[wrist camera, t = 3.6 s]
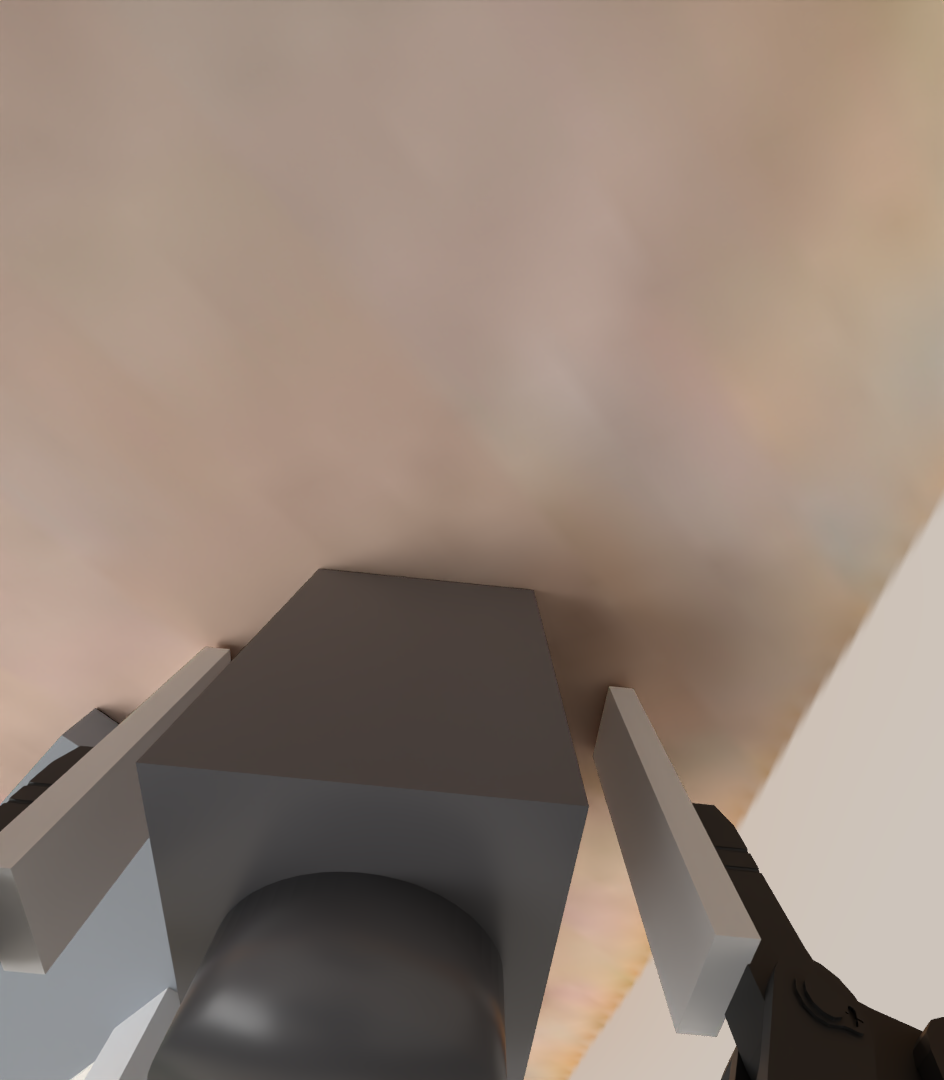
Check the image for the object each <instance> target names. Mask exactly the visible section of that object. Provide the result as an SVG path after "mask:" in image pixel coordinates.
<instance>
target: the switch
mask: <svg viewBox="0 0 944 1080" xmlns="http://www.w3.org/2000/svg"><path fill="white" fill-rule="evenodd" d="M118 725H119V724H118V723H116V722H115V721H113V720H112V719H110V718H109V717H107V716H106V715H105V714H103V713H102V712H100V711H99V710H97V709H96V708H95V709H94V710H92V711H91V712H90V713H89V714H88V715H86V716H85V717H84V718H83V719H81V720H80V721H79V722H78V723H76V724H75V725H74V726H73V727H71V728H70V729H69V730H68V731H66V732H65V733H64V734H63V735H62V736H61V737H60V738H59V739H58V740H57V741H56V742H55V744H54V745H53V746H52V747H51V748H50V749H49V750H48V751H47V753H46V754H45V755H44V756H43V757H42V758H41V759H40V760H39V762H38V763H37V764H36V765H35V766H34V767H33V768H32V769H31V771H30V772H29V773H28V774H27V775H26V776H25V777H24V778H23V780H22V781H21V782H20V783H19V784H18V785H17V786H16V787H15V789H14V790H13V791H12V792H11V793H10V794H9V795H8V796H7V798H6V799H5V800H4V801H3V802H2V803H1V804H0V806H1V805H2V804H3V803H7V802H8V801H9V798H10V797H11V796H12V795H14V794H15V793H16V792H17V791H18V790H19V789H21V788H22V787H23V786H27V785H28V783H29V781H30V780H31V779H32V778H34V777H35V776H36V775H37V774H38V773H39V772H41V771H42V770H43V769H44V768H45V767H47V766H48V765H49V764H50V763H51V762H53V761H54V760H56V759H58V758H60V757H61V756H63V755H65V754H67V753H69V752H70V751H72V750H74V749H76V748H77V747H79V746H89V747H95V746H96V745H97V744H98V743H99V742H100V741H101V740H102V739H104V738H105V737H106V736H107V735H108V734H109V733H110V732H111V731H112V730H114V729H115V728H116V727H117V726H118ZM179 1007H180V1001H179V996H178V990H177V985H176V979H175V974H174V968H173V963H172V958H171V952H170V947H169V941H168V936H167V930H166V925H165V920H164V914H163V909H162V903H161V898H160V892H159V887H158V882H157V876H156V871H155V865H154V860H153V854H152V849H151V844H150V838H148V839H147V841H146V842H145V843H144V845H143V846H142V847H141V849H140V850H139V851H138V853H137V854H136V855H135V857H134V858H133V859H132V860H131V862H130V863H129V864H128V866H127V867H126V868H125V870H124V871H123V872H122V874H121V875H120V876H119V878H118V879H117V880H116V882H115V883H114V884H113V886H112V887H111V888H110V890H109V891H108V892H107V893H106V895H105V896H104V897H103V899H102V900H101V901H100V903H99V904H98V905H97V907H96V908H95V909H94V911H93V912H92V913H91V915H90V916H89V917H88V919H87V920H86V921H85V923H84V924H83V925H82V927H81V928H80V929H79V930H78V932H77V933H76V934H75V936H74V937H73V938H72V940H71V941H70V942H69V944H68V945H67V946H66V948H65V949H64V950H63V952H62V953H61V954H60V956H59V957H58V958H57V960H56V961H55V962H54V963H53V965H52V966H51V967H50V969H49V970H48V971H47V973H46V974H34V973H23V972H12V971H4V970H3V967H2V965H1V962H0V1080H147V1076H148V1072H149V1069H150V1066H151V1064H152V1061H153V1059H154V1057H155V1055H156V1053H157V1051H158V1049H159V1047H160V1045H161V1043H162V1041H163V1039H164V1037H165V1035H166V1033H167V1031H168V1029H169V1027H170V1025H171V1023H172V1021H173V1019H174V1017H175V1015H176V1013H177V1011H178V1009H179Z"/></svg>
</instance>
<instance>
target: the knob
mask: <svg viewBox="0 0 944 1080" xmlns="http://www.w3.org/2000/svg"><path fill="white" fill-rule="evenodd" d="M136 768H137V773H138V778H139V784H140V789H141V795H142V800H143V806H144V811H145V816H146V822H147V827H148V833H149V838H150V844H151V849H152V854H153V860H154V865H155V871H156V876H157V882H158V887H159V892H160V898H161V903H162V909H163V914H164V920H165V925H166V930H167V936H168V941H169V947H170V952H171V958H172V963H173V968H174V974H175V979H176V985H177V990H178V996H179V1001H180V1007H179V1009H178V1011H177V1013H176V1015H175V1017H174V1019H173V1021H172V1023H171V1025H170V1027H169V1029H168V1031H167V1033H166V1035H165V1037H164V1039H163V1041H162V1043H161V1045H160V1047H159V1049H158V1051H157V1053H156V1055H155V1057H154V1059H153V1061H152V1064H151V1066H150V1069H149V1072H148V1076H147V1080H523V1079H524V1075H525V1071H526V1067H527V1063H528V1059H529V1054H530V1050H531V1046H532V1042H533V1038H534V1033H535V1029H536V1025H537V1021H538V1017H539V1013H540V1008H541V1004H542V1000H543V996H544V992H545V988H546V983H547V979H548V975H549V971H550V967H551V962H552V958H553V954H554V950H555V946H556V942H557V937H558V933H559V929H560V925H561V921H562V917H563V912H564V908H565V904H566V900H567V896H568V891H569V887H570V883H571V879H572V875H573V871H574V866H575V862H576V858H577V854H578V850H579V845H580V841H581V837H582V833H583V829H584V825H585V820H586V816H587V812H588V808H589V805H588V801H587V797H586V793H585V789H584V785H583V781H582V778H581V774H580V770H579V766H578V762H577V758H576V754H575V750H574V746H573V742H572V738H571V734H570V730H569V727H568V723H567V719H566V715H565V711H564V707H563V703H562V699H561V695H560V691H559V687H558V683H557V679H556V675H555V672H554V668H553V664H552V660H551V656H550V652H549V648H548V644H547V640H546V636H545V632H544V628H543V624H542V620H541V617H540V613H539V609H538V605H537V601H536V597H535V593H534V590H527V589H517V588H507V587H497V586H487V585H477V584H467V583H457V582H447V581H437V580H427V579H417V578H407V577H397V576H387V575H377V574H366V573H356V572H346V571H336V570H326V569H318V570H317V571H316V572H315V574H314V575H313V576H312V577H311V578H310V579H309V580H308V581H307V582H306V583H305V584H304V585H303V586H302V587H301V588H300V589H299V590H298V591H297V593H296V594H295V595H294V596H293V597H292V598H291V599H290V600H289V601H288V602H287V603H286V604H285V605H284V606H283V607H282V608H281V609H280V610H279V612H278V613H277V614H276V615H275V616H274V617H273V618H272V619H271V620H270V621H269V622H268V623H267V624H266V625H265V626H264V627H263V628H262V630H261V631H260V632H259V633H258V634H257V635H256V636H255V637H254V638H253V639H252V640H251V641H250V642H249V643H248V644H247V645H246V646H245V647H244V649H243V650H242V651H241V652H240V653H239V654H238V655H237V656H236V657H235V658H234V659H233V660H232V661H231V662H230V663H229V664H228V665H227V666H226V668H225V669H224V670H223V671H222V672H221V673H220V674H219V675H218V676H217V677H216V678H215V679H214V680H213V681H212V682H211V683H210V684H209V686H208V687H207V688H206V689H205V690H204V691H203V692H202V693H201V694H200V695H199V696H198V697H197V698H196V699H195V700H194V701H193V702H192V703H191V705H190V706H189V707H188V708H187V709H186V710H185V711H184V712H183V713H182V714H181V715H180V716H179V717H178V718H177V719H176V720H175V721H174V722H173V724H172V725H171V726H170V727H169V728H168V729H167V730H166V731H165V732H164V733H163V734H162V735H161V736H160V737H159V738H158V739H157V740H156V742H155V743H154V744H153V745H152V746H151V747H150V748H149V749H148V750H147V751H146V752H145V753H144V754H143V755H142V756H141V757H140V758H139V759H138V761H137V762H136Z"/></svg>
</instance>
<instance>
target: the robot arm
mask: <svg viewBox="0 0 944 1080" xmlns="http://www.w3.org/2000/svg"><path fill="white" fill-rule="evenodd" d="M230 662H231V654H230V649H224V648H213V647H204V648H203V649H202V650H201V651H200V652H199V653H198V654H197V655H196V656H194V657H193V658H192V659H191V660H190V661H189V662H188V663H187V664H186V665H184V666H183V667H182V668H181V669H180V670H179V671H178V672H177V673H176V674H174V675H173V676H172V677H171V678H170V679H169V680H168V681H167V682H166V683H164V684H163V685H162V686H161V687H160V688H159V689H158V690H157V691H156V692H155V693H153V694H152V695H151V696H150V697H149V698H148V699H147V700H146V701H145V702H143V703H142V704H141V705H140V706H139V707H138V708H137V709H136V710H135V711H133V712H132V713H131V714H130V715H129V716H128V717H127V718H126V719H125V720H123V721H122V722H121V723H120V724H119V725H118V726H117V727H116V728H115V729H114V730H112V731H111V732H110V733H109V734H108V735H107V736H106V737H105V738H104V739H102V740H101V741H100V742H99V743H98V744H97V745H96V746H95V747H89V746H79V747H77V748H76V749H74V750H72V751H70V752H69V753H67V754H65V755H63V756H61V757H60V758H58V759H56V760H54V761H53V762H51V763H50V764H49V765H48V766H47V767H45V768H44V769H43V770H42V771H41V772H39V773H38V774H37V775H36V776H35V777H34V778H32V779H31V780H30V781H29V783H28V785H27V786H23V787H22V788H21V789H19V790H18V791H17V792H16V793H15V794H14V795H12V796H11V797H10V798H9V801H8V802H7V803H3V804H2V805H1V806H0V962H1V965H2V967H3V970H4V971H12V972H23V973H34V974H46V973H47V971H48V970H49V969H50V967H51V966H52V965H53V963H54V962H55V961H56V960H57V958H58V957H59V956H60V954H61V953H62V952H63V950H64V949H65V948H66V946H67V945H68V944H69V942H70V941H71V940H72V938H73V937H74V936H75V934H76V933H77V932H78V930H79V929H80V928H81V927H82V925H83V924H84V923H85V921H86V920H87V919H88V917H89V916H90V915H91V913H92V912H93V911H94V909H95V908H96V907H97V905H98V904H99V903H100V901H101V900H102V899H103V897H104V896H105V895H106V893H107V892H108V891H109V890H110V888H111V887H112V886H113V884H114V883H115V882H116V880H117V879H118V878H119V876H120V875H121V874H122V872H123V871H124V870H125V868H126V867H127V866H128V864H129V863H130V862H131V860H132V859H133V858H134V857H135V855H136V854H137V853H138V851H139V850H140V849H141V847H142V846H143V845H144V843H145V842H146V841H147V839H148V838H149V833H148V827H147V822H146V816H145V811H144V806H143V800H142V795H141V789H140V784H139V778H138V773H137V768H136V762H137V761H138V759H139V758H140V757H141V756H142V755H143V754H144V753H145V752H146V751H147V750H148V749H149V748H150V747H151V746H152V745H153V744H154V743H155V742H156V740H157V739H158V738H159V737H160V736H161V735H162V734H163V733H164V732H165V731H166V730H167V729H168V728H169V727H170V726H171V725H172V724H173V722H174V721H175V720H176V719H177V718H178V717H179V716H180V715H181V714H182V713H183V712H184V711H185V710H186V709H187V708H188V707H189V706H190V705H191V703H192V702H193V701H194V700H195V699H196V698H197V697H198V696H199V695H200V694H201V693H202V692H203V691H204V690H205V689H206V688H207V687H208V686H209V684H210V683H211V682H212V681H213V680H214V679H215V678H216V677H217V676H218V675H219V674H220V673H221V672H222V671H223V670H224V669H225V668H226V666H227V665H228V664H229V663H230ZM593 759H594V762H595V766H596V769H597V772H598V776H599V779H600V782H601V786H602V789H603V792H604V796H605V799H606V802H607V805H608V809H609V812H610V815H611V819H612V822H613V825H614V829H615V832H616V835H617V839H618V842H619V845H620V849H621V852H622V855H623V859H624V862H625V865H626V869H627V872H628V875H629V878H630V882H631V885H632V888H633V892H634V895H635V898H636V902H637V905H638V908H639V912H640V915H641V918H642V922H643V925H644V928H645V932H646V935H647V938H648V942H649V945H650V948H651V952H652V955H653V958H654V961H655V965H656V968H657V971H658V975H659V978H660V981H661V984H662V988H663V991H664V994H665V998H666V1001H667V1004H668V1008H669V1011H670V1014H671V1017H672V1021H673V1025H674V1028H675V1031H676V1033H681V1034H691V1035H702V1036H712V1037H717V1035H718V1033H719V1030H720V1029H721V1026H722V1024H723V1022H724V1020H725V1018H726V1020H727V1021H728V1025H729V1027H730V1030H731V1032H732V1035H733V1037H734V1040H735V1043H736V1045H737V1046H736V1048H735V1050H734V1052H733V1054H732V1056H731V1058H730V1060H729V1062H728V1065H727V1066H726V1068H725V1071H724V1073H723V1076H722V1078H721V1080H944V1017H941V1018H937V1019H933V1020H931V1021H930V1022H929V1023H928V1025H927V1027H926V1028H925V1029H924V1031H920V1030H918V1029H916V1028H914V1027H912V1026H909V1025H907V1024H905V1023H903V1022H900V1021H898V1020H896V1019H894V1018H891V1017H889V1016H887V1015H884V1014H882V1013H880V1012H878V1011H875V1010H873V1009H871V1008H869V1007H867V1006H866V1005H864V1004H862V1003H860V1002H858V1001H857V999H856V998H855V996H854V995H853V994H852V993H851V992H850V991H849V989H848V988H847V987H846V986H845V985H844V984H843V983H842V982H841V981H840V979H839V978H838V977H836V976H835V975H834V974H832V973H831V972H830V971H829V970H828V969H826V968H825V967H824V966H822V965H821V964H819V963H818V962H816V961H814V960H812V958H811V956H810V955H809V953H808V952H807V950H806V949H805V947H804V946H803V944H802V942H801V940H800V939H799V937H798V935H797V933H796V932H795V930H794V928H793V927H792V925H791V923H790V921H789V920H788V918H787V916H786V915H785V913H784V911H783V910H782V908H781V906H780V904H779V903H778V901H777V899H776V897H775V896H774V894H773V892H772V890H771V889H770V887H769V886H768V884H767V882H766V880H765V878H764V877H763V875H762V874H761V873H759V870H758V869H759V868H758V866H757V865H756V863H755V861H754V860H753V858H752V856H751V854H749V853H748V852H747V847H746V846H745V844H744V842H743V841H742V839H741V837H740V835H739V834H738V832H737V830H736V829H735V827H734V825H733V824H732V823H731V822H730V821H729V820H728V819H727V818H726V817H725V816H724V815H723V814H722V813H721V812H720V811H719V810H718V809H717V808H716V807H715V806H714V805H706V804H695V803H691V801H690V799H689V797H688V795H687V793H686V791H685V789H684V787H683V785H682V783H681V781H680V779H679V777H678V775H677V773H676V771H675V769H674V767H673V765H672V763H671V761H670V759H669V758H668V756H667V754H666V752H665V750H664V748H663V746H662V744H661V742H660V740H659V738H658V736H657V734H656V732H655V730H654V728H653V726H652V724H651V722H650V720H649V718H648V716H647V714H646V712H645V710H644V708H643V707H642V705H641V703H640V701H639V699H638V697H637V695H636V693H635V691H634V689H633V688H623V687H613V686H609V688H608V692H607V696H606V701H605V705H604V709H603V714H602V718H601V722H600V727H599V731H598V735H597V740H596V744H595V749H594V753H593Z"/></svg>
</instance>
